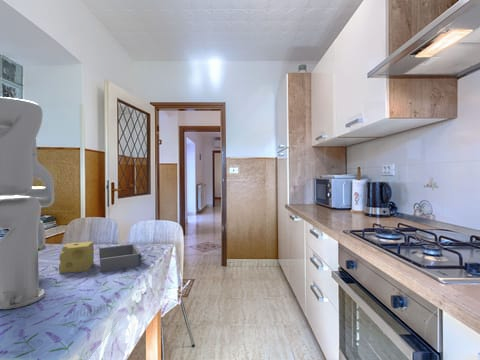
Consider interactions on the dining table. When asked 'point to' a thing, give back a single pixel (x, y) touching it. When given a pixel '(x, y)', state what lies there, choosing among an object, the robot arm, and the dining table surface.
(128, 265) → the bin
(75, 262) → the cheese
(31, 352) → the dining table surface
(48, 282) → the dining table surface
